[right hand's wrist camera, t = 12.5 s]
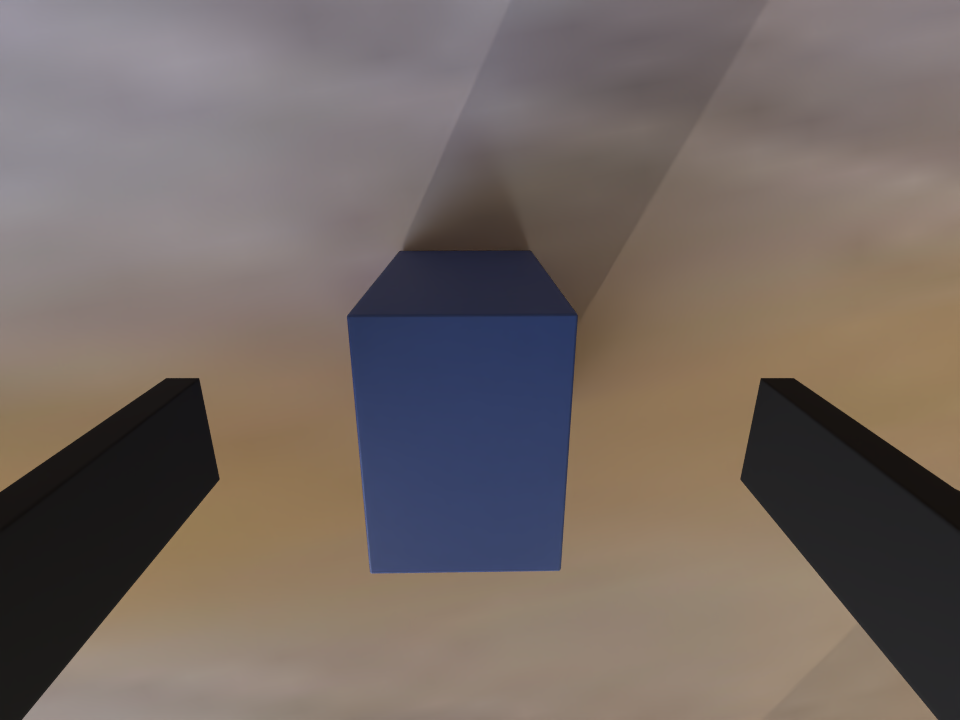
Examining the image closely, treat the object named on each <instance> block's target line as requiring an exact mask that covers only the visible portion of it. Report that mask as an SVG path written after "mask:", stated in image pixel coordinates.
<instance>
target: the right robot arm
mask: <svg viewBox="0 0 960 720" xmlns="http://www.w3.org/2000/svg"><path fill="white" fill-rule="evenodd" d="M219 480H220V479H219V474H218V469H217V464H216V459H215V454H214V449H213V444H212V439H211V435H210V430H209V425H208V420H207V415H206V410H205V405H204V400H203V395H202V390H201V385H200V380H199V378H166V379H164V380H163V381H162V382H160V383H159V384H157V385H156V386H154V387H153V388H151V389H150V390H148V391H147V392H146V393H144V394H143V395H141V396H140V397H138V398H137V399H135V400H134V401H132V402H131V403H130V404H128V405H127V406H125V407H124V408H122V409H121V410H119V411H118V412H116V413H115V414H113V415H112V416H111V417H109V418H108V419H106V420H105V421H103V422H102V423H100V424H99V425H97V426H96V427H95V428H93V429H92V430H90V431H89V432H87V433H86V434H84V435H83V436H81V437H80V438H79V439H77V440H76V441H74V442H73V443H71V444H70V445H68V446H67V447H65V448H64V449H62V450H61V451H60V452H58V453H57V454H55V455H54V456H52V457H51V458H49V459H48V460H46V461H45V462H44V463H42V464H41V465H39V466H38V467H36V468H35V469H33V470H32V471H30V472H29V473H28V474H26V475H25V476H23V477H22V478H20V479H19V480H17V481H16V482H14V483H13V484H11V485H10V486H9V487H7V488H6V489H4V490H3V491H1V492H0V720H22V719H23V718H24V716H25V715H26V714H27V713H28V712H29V710H30V709H31V708H32V707H33V706H34V704H35V703H36V702H37V701H38V699H39V698H40V697H41V696H42V695H43V693H44V692H45V691H46V690H47V689H48V687H49V686H50V685H51V684H52V682H53V681H54V680H55V679H56V678H57V676H58V675H59V674H60V673H61V672H62V670H63V669H64V668H65V667H66V665H67V664H68V663H69V662H70V661H71V659H72V658H73V657H74V656H75V655H76V653H77V652H78V651H79V650H80V648H81V647H82V646H83V645H84V644H85V642H86V641H87V640H88V639H89V638H90V636H91V635H92V634H93V633H94V631H95V630H96V629H97V628H98V627H99V625H100V624H101V623H102V622H103V620H104V619H105V618H106V617H107V616H108V614H109V613H110V612H111V611H112V610H113V608H114V607H115V606H116V605H117V603H118V602H119V601H120V600H121V599H122V597H123V596H124V595H125V594H126V593H127V591H128V590H129V589H130V588H131V586H132V585H133V584H134V583H135V582H136V580H137V579H138V578H139V577H140V576H141V574H142V573H143V572H144V571H145V569H146V568H147V567H148V566H149V565H150V563H151V562H152V561H153V560H154V559H155V557H156V556H157V555H158V554H159V552H160V551H161V550H162V549H163V548H164V546H165V545H166V544H167V543H168V542H169V540H170V539H171V538H172V537H173V535H174V534H175V533H176V532H177V531H178V529H179V528H180V527H181V526H182V524H183V523H184V522H185V521H186V520H187V518H188V517H189V516H190V515H191V514H192V512H193V511H194V510H195V509H196V507H197V506H198V505H199V504H200V503H201V501H202V500H203V499H204V498H205V497H206V495H207V494H208V493H209V492H210V490H211V489H212V488H213V487H214V486H215V484H216V483H217V482H218V481H219ZM740 480H741V481H742V482H743V483H744V484H745V486H746V487H747V488H748V489H749V490H750V492H751V493H752V494H753V495H754V497H755V498H756V499H757V500H758V501H759V503H760V504H761V505H762V506H763V507H764V509H765V510H766V511H767V512H768V514H769V515H770V516H771V517H772V518H773V520H774V521H775V522H776V523H777V524H778V526H779V527H780V528H781V529H782V531H783V532H784V533H785V534H786V535H787V537H788V538H789V539H790V540H791V542H792V543H793V544H794V545H795V546H796V548H797V549H798V550H799V551H800V552H801V554H802V555H803V556H804V557H805V559H806V560H807V561H808V562H809V563H810V565H811V566H812V567H813V568H814V569H815V571H816V572H817V573H818V574H819V576H820V577H821V578H822V579H823V580H824V582H825V583H826V584H827V585H828V586H829V588H830V589H831V590H832V591H833V593H834V594H835V595H836V596H837V597H838V599H839V600H840V601H841V602H842V603H843V605H844V606H845V607H846V608H847V610H848V611H849V612H850V613H851V614H852V616H853V617H854V618H855V619H856V620H857V622H858V623H859V624H860V625H861V627H862V628H863V629H864V630H865V631H866V633H867V634H868V635H869V636H870V638H871V639H872V640H873V641H874V642H875V644H876V645H877V646H878V647H879V648H880V650H881V651H882V652H883V653H884V655H885V656H886V657H887V658H888V659H889V661H890V662H891V663H892V664H893V665H894V667H895V668H896V669H897V670H898V672H899V673H900V674H901V675H902V676H903V678H904V679H905V680H906V681H907V682H908V684H909V685H910V686H911V687H912V689H913V690H914V691H915V692H916V693H917V695H918V696H919V697H920V698H921V699H922V701H923V702H924V703H925V704H926V706H927V707H928V708H929V709H930V710H931V712H932V713H933V714H934V715H935V716H936V718H937V719H938V720H960V491H958V490H956V489H954V488H953V487H951V486H950V485H949V484H947V483H946V482H944V481H943V480H941V479H940V478H938V477H937V476H935V475H934V474H932V473H931V472H930V471H928V470H927V469H925V468H924V467H922V466H921V465H919V464H918V463H916V462H915V461H914V460H912V459H911V458H909V457H908V456H906V455H905V454H903V453H902V452H900V451H899V450H898V449H896V448H895V447H893V446H892V445H890V444H889V443H887V442H886V441H884V440H883V439H881V438H880V437H879V436H877V435H876V434H874V433H873V432H871V431H870V430H868V429H867V428H865V427H864V426H863V425H861V424H860V423H858V422H857V421H855V420H854V419H852V418H851V417H849V416H848V415H847V414H845V413H844V412H842V411H841V410H839V409H838V408H836V407H835V406H833V405H832V404H830V403H829V402H828V401H826V400H825V399H823V398H822V397H820V396H819V395H817V394H816V393H814V392H813V391H812V390H810V389H809V388H807V387H806V386H804V385H803V384H801V383H800V382H798V381H797V380H796V379H794V378H761V380H760V385H759V390H758V395H757V400H756V405H755V410H754V415H753V420H752V425H751V430H750V435H749V439H748V444H747V449H746V454H745V459H744V464H743V469H742V474H741V479H740Z"/></svg>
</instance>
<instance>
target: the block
mask: <svg viewBox="0 0 960 720" xmlns="http://www.w3.org/2000/svg"><path fill="white" fill-rule="evenodd" d="M577 318H578V315H577V313H576V312H575V311H574V309H573V308H572V306H571V305H570V304H569V302H568V301H567V300H566V298H565V297H564V296H563V294H562V293H561V291H560V290H559V289H558V287H557V286H556V285H555V283H554V282H553V280H552V279H551V278H550V276H549V275H548V274H547V272H546V271H545V270H544V268H543V267H542V265H541V264H540V263H539V261H538V260H537V259H536V257H535V256H534V255H533V253H532V252H531V251H399V252H398V254H397V255H396V256H395V257H394V259H393V260H392V261H391V262H390V264H389V265H388V266H387V267H386V269H385V270H384V271H383V272H382V273H381V275H380V276H379V277H378V278H377V280H376V281H375V282H374V283H373V285H372V286H371V287H370V288H369V290H368V291H367V292H366V293H365V294H364V296H363V297H362V298H361V299H360V301H359V302H358V303H357V304H356V306H355V307H354V308H353V309H352V311H351V312H350V313H349V314H348V316H347V321H348V332H349V343H350V354H351V365H352V377H353V388H354V399H355V410H356V421H357V432H358V443H359V454H360V465H361V476H362V488H363V499H364V510H365V521H366V532H367V543H368V554H369V565H370V572H371V573H433V572H503V571H559V570H560V569H561V557H562V542H563V527H564V512H565V497H566V482H567V467H568V452H569V437H570V423H571V408H572V393H573V378H574V363H575V348H576V333H577Z"/></svg>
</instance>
